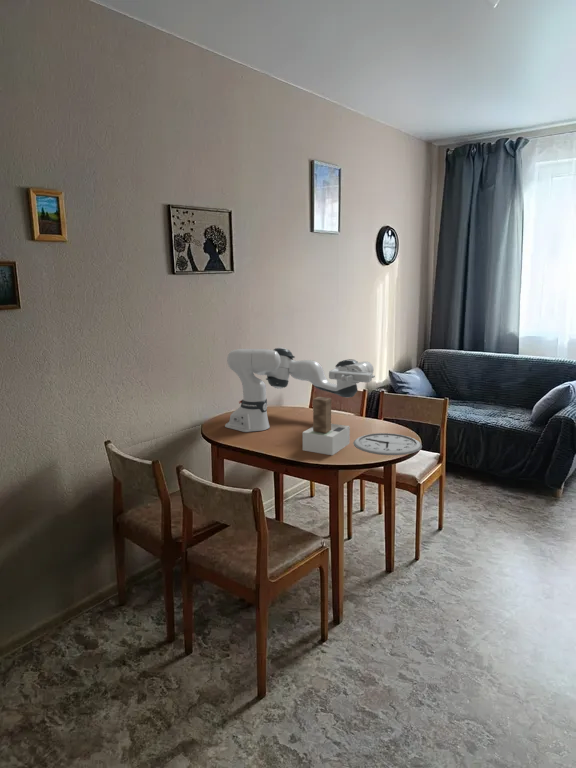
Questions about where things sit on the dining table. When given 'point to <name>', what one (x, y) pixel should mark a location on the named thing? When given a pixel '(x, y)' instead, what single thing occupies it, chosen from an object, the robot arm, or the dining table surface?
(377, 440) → the wall clock
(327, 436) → the box
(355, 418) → the dining table surface
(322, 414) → the walnut post
